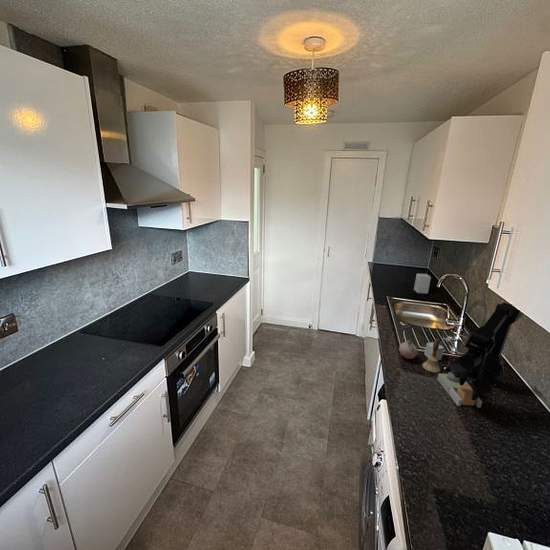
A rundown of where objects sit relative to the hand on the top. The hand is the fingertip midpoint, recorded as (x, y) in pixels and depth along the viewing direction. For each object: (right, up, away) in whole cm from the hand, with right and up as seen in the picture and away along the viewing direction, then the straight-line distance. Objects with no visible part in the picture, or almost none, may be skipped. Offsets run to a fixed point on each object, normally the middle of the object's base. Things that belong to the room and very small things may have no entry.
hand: (466, 392), depth 127 cm
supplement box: (+44, +36, +132) cm, 143 cm away
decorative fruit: (-12, +6, +31) cm, 34 cm away
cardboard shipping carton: (0, -4, +1) cm, 5 cm away
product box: (+3, +6, +33) cm, 34 cm away
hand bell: (-3, +3, +24) cm, 24 cm away
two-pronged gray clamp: (0, -3, +7) cm, 7 cm away
